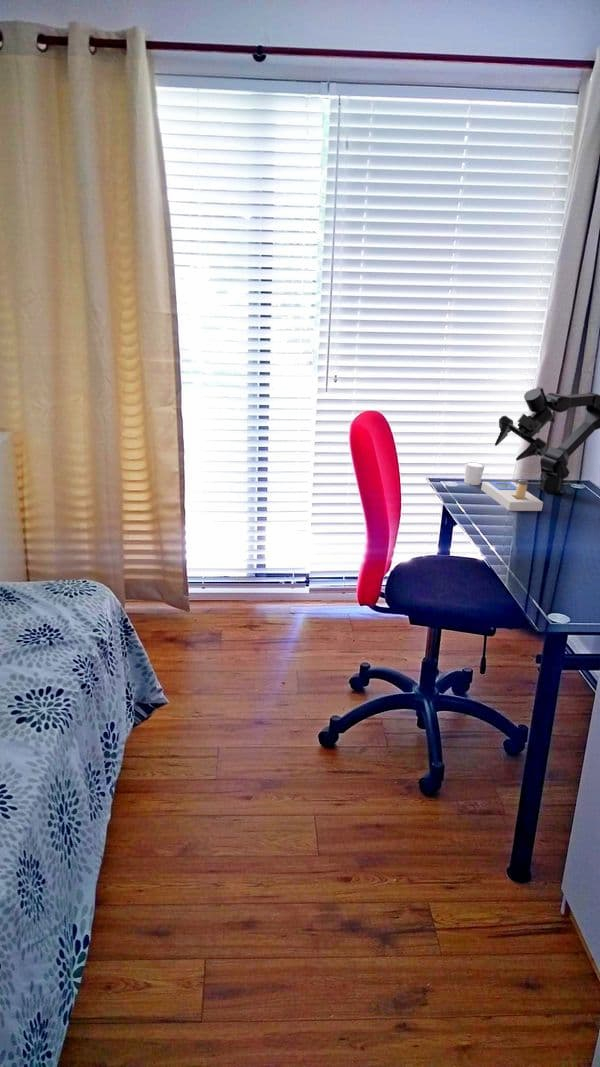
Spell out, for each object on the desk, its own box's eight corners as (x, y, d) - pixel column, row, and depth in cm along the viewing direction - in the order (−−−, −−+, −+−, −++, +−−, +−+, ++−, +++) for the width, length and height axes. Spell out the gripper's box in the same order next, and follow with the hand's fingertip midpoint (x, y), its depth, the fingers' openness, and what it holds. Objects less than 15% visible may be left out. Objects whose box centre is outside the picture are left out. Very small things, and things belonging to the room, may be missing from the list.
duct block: (511, 489, 281) (513, 481, 280) (541, 510, 261) (543, 501, 260) (481, 489, 279) (482, 480, 277) (508, 510, 259) (510, 501, 258)
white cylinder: (458, 480, 287) (461, 462, 285) (473, 479, 290) (476, 461, 288) (470, 486, 282) (473, 467, 279) (485, 485, 284) (488, 466, 282)
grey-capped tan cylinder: (520, 504, 266) (525, 479, 263) (524, 507, 264) (529, 482, 260) (511, 504, 266) (516, 478, 262) (516, 507, 263) (521, 481, 260)
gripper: (515, 394, 265) (483, 425, 263) (559, 423, 256) (527, 455, 254) (515, 412, 274) (484, 442, 272) (558, 440, 266) (527, 472, 264)
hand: (505, 452), depth 265 cm, fingers open, 9 cm apart
